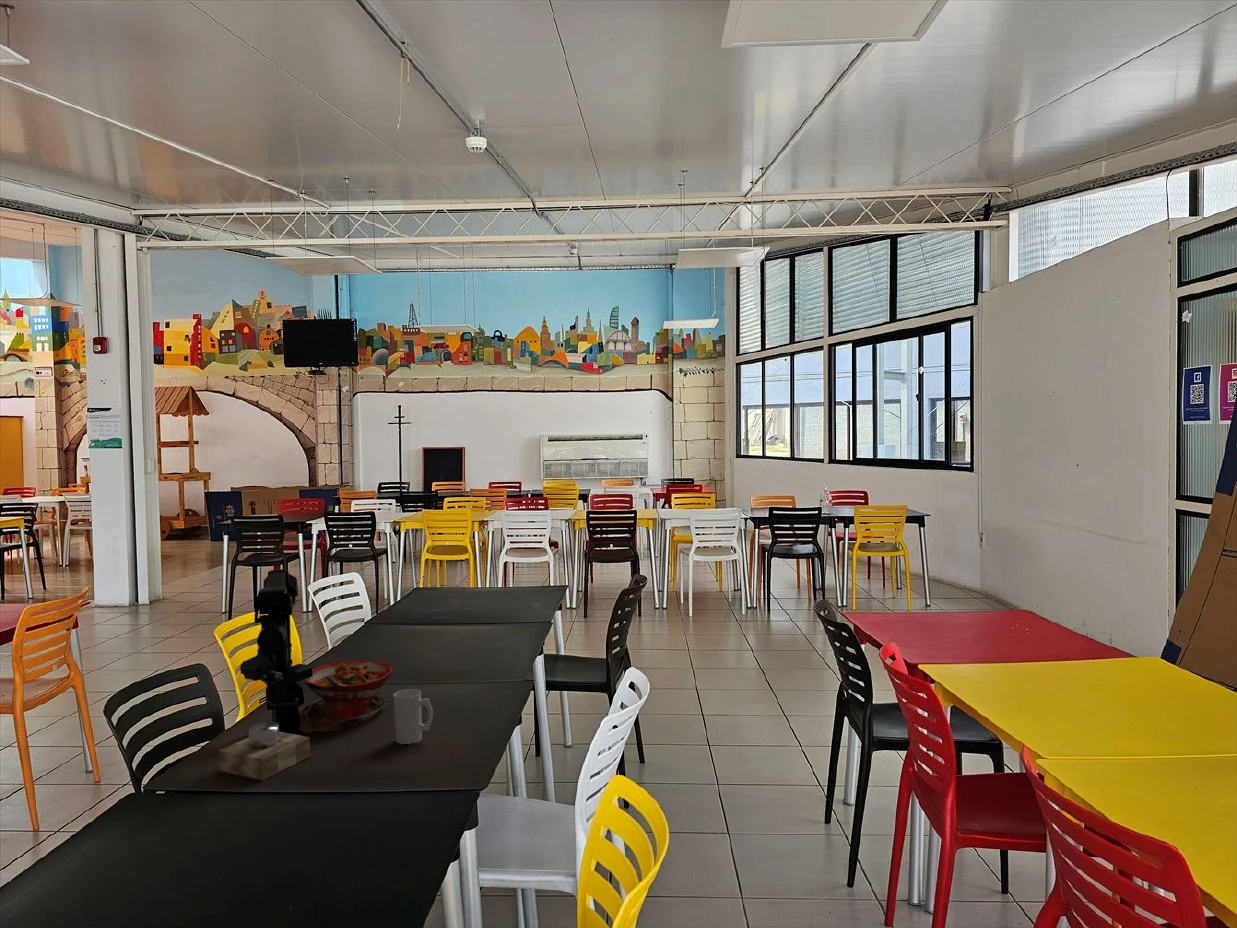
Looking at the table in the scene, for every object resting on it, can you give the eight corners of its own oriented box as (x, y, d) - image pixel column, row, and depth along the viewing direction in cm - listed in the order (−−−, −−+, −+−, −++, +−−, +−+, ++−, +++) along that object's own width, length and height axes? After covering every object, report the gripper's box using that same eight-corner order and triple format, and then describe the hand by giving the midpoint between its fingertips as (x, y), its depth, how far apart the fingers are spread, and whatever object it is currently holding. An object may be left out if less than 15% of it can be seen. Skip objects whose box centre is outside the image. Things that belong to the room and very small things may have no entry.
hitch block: (219, 771, 191) (218, 750, 191) (268, 749, 204) (267, 729, 204) (263, 781, 185) (262, 759, 185) (310, 757, 198) (309, 737, 198)
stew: (362, 737, 210) (359, 675, 209) (277, 733, 215) (274, 673, 214) (409, 700, 238) (407, 646, 237) (333, 697, 242) (330, 644, 241)
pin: (244, 767, 193) (242, 730, 193) (266, 757, 199) (265, 720, 199) (264, 772, 190) (262, 733, 190) (286, 761, 196) (285, 724, 196)
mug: (390, 744, 205) (388, 697, 204) (402, 734, 211) (400, 688, 211) (427, 746, 203) (426, 699, 202) (439, 736, 209) (437, 690, 209)
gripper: (219, 645, 195) (222, 709, 197) (275, 654, 187) (278, 721, 188) (258, 633, 205) (261, 694, 207) (312, 641, 197) (315, 705, 198)
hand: (278, 703), depth 200 cm, fingers closed
